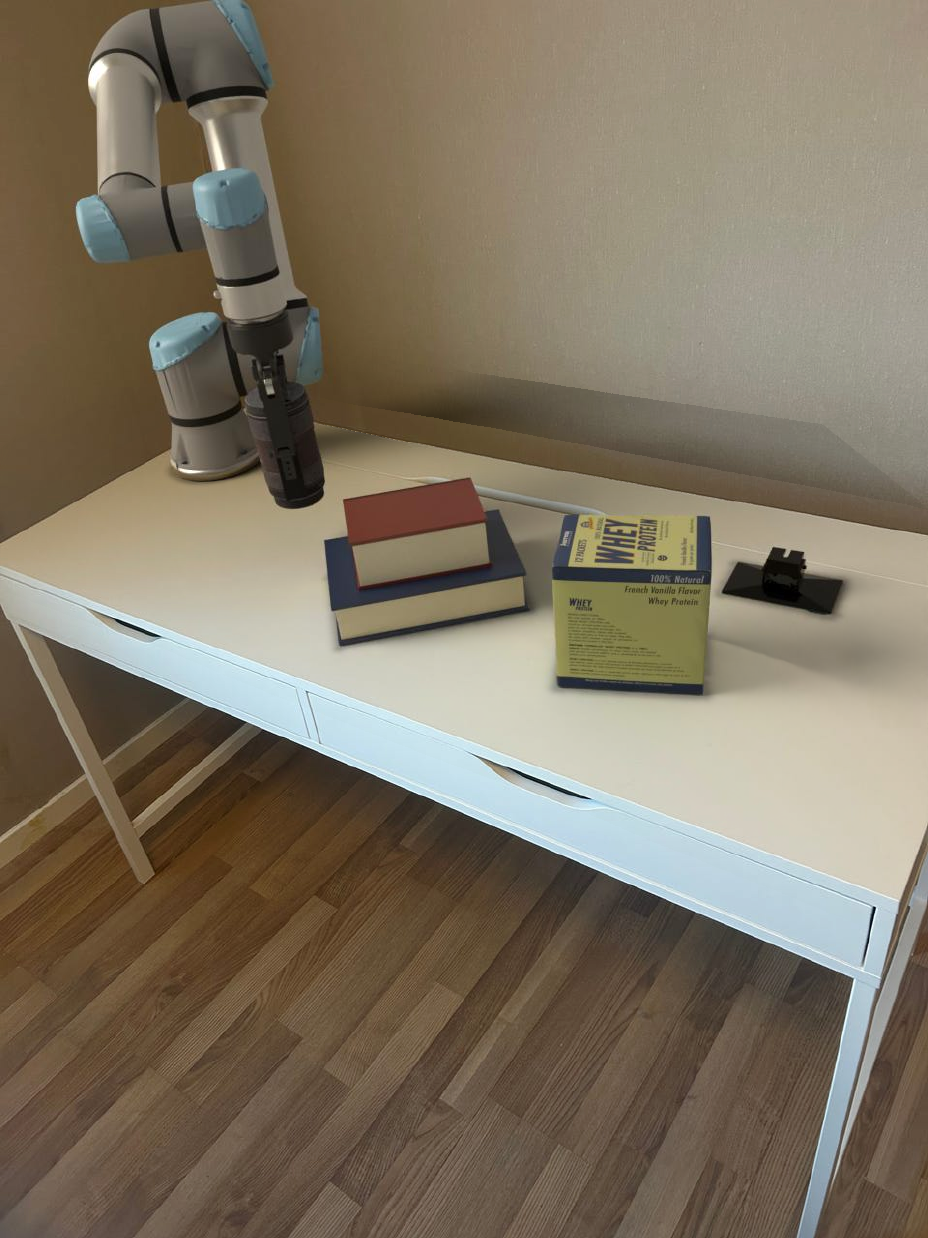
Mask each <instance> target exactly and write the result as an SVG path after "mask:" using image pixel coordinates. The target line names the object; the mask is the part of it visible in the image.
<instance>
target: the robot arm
mask: <svg viewBox="0 0 928 1238" xmlns="http://www.w3.org/2000/svg"><path fill="white" fill-rule="evenodd" d="M97 43H98V44H97V45H96V47H95V49H94V50H93V52H92V55H91V58H90V62H89V65H88V70H87V71H88V72H87V85H88V92H89V96H90V97H91V100H92V102H93V105H94V106H95V107H96V140H97V141H96V151H97V152H96V155H97V156H96V157H97V158H96V160H97V161H96V162H97V194H92V195H91V196H88V197H83V198H81V199H80V200H78V201H77V203H76V206H75V214H76V220H77V225H78V226H77V227H78V229H79V233H80V236H81V239H82V242H83V244H84V246H85V249H86V251H87V253H88V255H89V256H90V258H91V259H92V260H93V261H95V262H96V263H99V264H110V263H120V262H122V263H123V262H124V263H130V262H131V261H137V260H138V261H139V260H141V259H142V260H143V259H144V260H145V259H148V258H155V257H160V256H167V255H172V254H173V255H174V254H178V253H187V252H193V251H199V250H207V253H208V256H209V260H210V263H211V268H212V271H213V274H214V281H215V283H216V287H217V289H216V290H214V291H213V298H215V299H216V300H217V299H218V300H219V299H221V301H220V302H221V303H220V304H221V309H222V311H223V312H222V313H223V315H224V316H225V317H226V318H227V320H226V321H222V318H221V317H220V316H219V314H218V313H217V312H213V311H208V312H204V311H203V312H197V313H192V314H188V315H185V316H182V317H180V318H177V319H174V320H172V321H171V322H167V323H166V324H164V325H162V326H161V327H160V328H157V330H155V331H154V333H153V334H152V335H151V337H150V339H149V342H148V347H149V352H150V357H151V361H152V369H153V370H154V371H155V374H156V376H157V381H158V384H159V387H160V390H161V393H162V397H163V401H164V403H165V407H166V410H167V414H168V416H169V419H170V422H171V449H170V450H171V453H170V457H169V459H170V465H171V466H172V469H173V472H174V473H175V475H177V476H178V477H180V478H182V479H184V480H188V481H195V482H196V481H197V482H207V481H216V480H221V479H222V480H223V479H225V478H229V477H232V476H236V475H239V474H241V473H244V472H246V471H248V470H250V469H252V468H254V467H255V466H256V465H257V464H259V463H261V461H260V457H259V453H258V449H257V445H256V441H255V440H254V438H253V435H252V432H251V429H250V425H249V421H248V417H247V413H246V411H245V409H244V408H243V404H242V401H241V398H242V397H246V396H247V395H248V394H249V393H250V392H251V391H253V390H254V389H256V388H258V392H259V397H260V400H261V401H262V402H263V406H264V411H265V415H266V419H267V424H268V428H269V433H270V437H271V441H272V446H273V450H274V452H273V453H269V455H270V458H276V460H277V464H278V468H279V472H280V476H281V480H282V484H283V488H284V492H285V496H286V501H289V500H295V499H301V498H306V497H307V492H306V488H305V483H304V479H303V475H302V470H301V466H300V462H299V457H298V453H297V449H296V447H295V446H294V441H293V436H292V432H291V427H290V423H289V418H288V414H287V409H286V405H285V404H284V403H286V402H285V399H286V398H287V397H288V391H287V386H286V384H287V381H289V382H297V383H300V384H302V385H303V386H304V387H306V386H311V385H313V384H316V383H318V382H320V380H321V379H322V378H323V374H324V368H323V367H324V365H323V352H322V337H321V325H320V311H319V308H317V306H316V307H315V306H309V302H308V297H307V295H306V294H305V293H303V292H302V290H300V289H298V288H297V286H296V285H295V281H294V276H293V271H292V266H291V262H290V257H289V252H288V251H289V250H288V247H287V243H286V238H285V237H286V236H285V232H284V227H283V223H282V222H283V221H282V219H281V218H282V217H281V212H280V208H279V202H278V198H277V193H276V189H275V188H276V187H275V183H274V182H275V181H274V178H273V173H272V169H271V168H272V167H271V164H270V159H269V154H268V148H267V144H266V139H265V133H264V128H263V124H262V115H263V113H264V112H265V110H266V109H267V107H268V105H269V101H268V97H267V92H270V91H271V90H272V89H274V88H275V82H274V78H273V74H272V71H271V67H270V65H269V61H268V57H267V54H266V51H265V47H264V45H263V41H262V37H261V35H260V31H259V29H258V26H257V23H256V20H255V17H254V14H253V12H252V9H251V7H250V6H249V4H248V3H247V2H246V1H244V0H204V1H199V2H198V1H197V2H191V3H183V4H178V5H171V6H164V7H156V8H145V9H139V10H135V11H133V12H131V13H128V14H127V15H126V16H124V17H122V18H120V19H119V20H118V21H117V22H115V23H114V24H113V25H112V26H111V27H110V28H109V29H108V30H107V31H106V32H105V33H104V35H103V36H102V37H101V39H100V40H99V42H97ZM181 102H186V106H187V112H188V114H189V116H191V117H192V118H193V119H194V120H195V121H197V122H198V123H199V124H200V125H201V127H202V130H203V135H204V139H205V140H204V141H205V144H206V149H207V153H208V157H209V162H210V166H211V171H210V172H207V173H204V174H201V176H198V177H197V178H196V179H195V180H194V181H189V182H182V183H176V184H175V183H174V184H170V185H168V184H167V185H162V179H161V165H160V153H159V138H158V137H159V136H158V126H157V113H158V112H159V110H160V107H161V105H164V104H170V103H174V104H175V103H181Z"/></svg>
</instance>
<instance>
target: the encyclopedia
mask: <svg viewBox="0 0 928 1238" xmlns="http://www.w3.org/2000/svg"><path fill="white" fill-rule="evenodd" d="M484 512H485V514H486V516H487V519H488V522H486V523H485V525H486V535H487V544H488V554H489V557H490V559H491V562H492V566H491V567H485V568H480V569H474V570H469V571H463V572H458V573H452V574H447V575H442V576H436V577H431V578H425V579H420V580H414V581H409V582H403V583H398V584H392V585H387V586H381V587H376V588H370V589H365V590H359V589H358V583H357V576H356V570H355V563H354V556H353V549H352V547H350V545H349V539H348V535H344V536H340V537H334V538H329V539H324V540H323V543H324V544H323V546H324V555H325V566H326V575H327V585H328V586H327V587H328V591H329V592H328V595H329V605H330V610H331V612H335V613H334V614H335V621H336V630H337V639H338V640H337V641H338V646H339V647H342V646H346V645H353V644H357V643H362V642H368V641H374V640H379V639H384V638H390V637H394V636H399V635H400V636H401V635H405V634H412V633H417V632H422V631H426V630H432V629H436V628H437V629H438V628H443V627H448V626H454V625H458V624H459V625H460V624H464V623H470V622H475V621H479V620H480V621H481V620H485V619H490V618H491V619H492V618H497V617H501V616H508V615H512V614H518V613H522V612H523V613H524V612H527V611H528V612H529V611H530V607H529V606H530V605H529V604H528V602H527V599H526V597H525V591H524V590H525V588H524V578H523V577H525V576H527V571H526V568H525V566H524V564H523V562H522V560H521V557H520V554H519V553H518V550H517V548H516V546H515V544H514V541H513V539H512V536H511V534H510V532H509V530H508V527H507V525H506V522H505V521H504V517H503V516H502V514H501V511H500V509H498V508H496V509H490V510H484Z"/></svg>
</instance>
